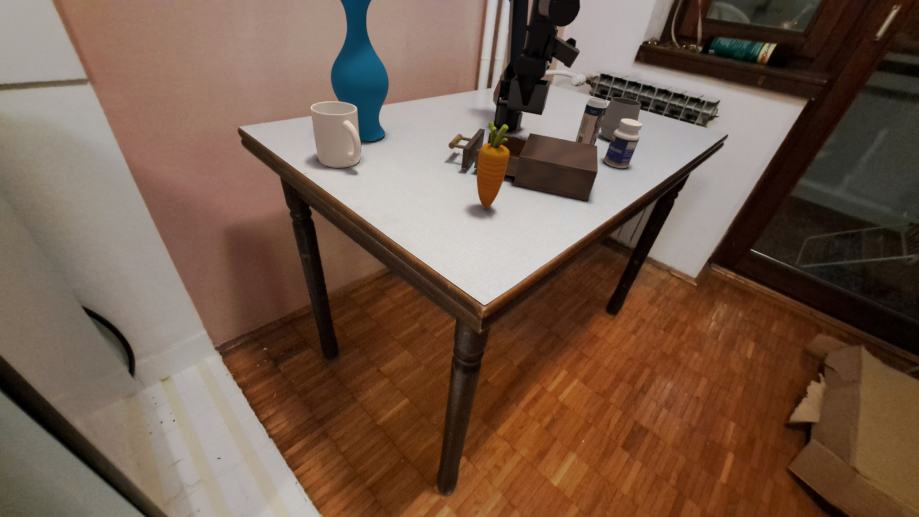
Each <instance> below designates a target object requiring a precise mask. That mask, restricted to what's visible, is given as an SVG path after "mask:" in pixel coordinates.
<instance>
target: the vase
mask: <svg viewBox="0 0 919 517" xmlns="http://www.w3.org/2000/svg"><path fill="white" fill-rule="evenodd" d="M339 1H340V3H341V5H342V7H343V10H344V13H345V20H346V21H345V22H346V32H345V39H344V42H343V44H342V47H341V49H340V51H339V52H338V55H337V56H336V58H335V59H334V61H333V64H332V67H331V71H330V83H331V87H332V91H333V93H334V95H335V97H336V99H337V100H338V102H345V103H349V104H352V105H354V106H356V107H357V114H358V128H359V138H360V142H362V143H363V142H365V143H366V142H375V141H379V140H381V139H382V138H384V137H385V135H386V132H385V129H384V128H383V126H382V125H381V123H380V114H381V110H382V107H383V105H384V103H385V101H386V98H387V96H388V93H389V88H390V80H389V74H388V72H387V69H386V67H385V65H384V63H383V61H382V60H381V58H380V57H379V55H378V54H377V52H376V50H375V48H374V46H373V44H372V42H371V39H370V37H369V33H368V32H369V31H368V27H367V26H368V25H367V20H368V18H367V17H368V16H367V15H368V10H369V6H370V5H371V2H372V0H339Z"/></svg>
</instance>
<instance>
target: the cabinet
mask: <svg viewBox="0 0 919 517" xmlns="http://www.w3.org/2000/svg"><path fill="white" fill-rule="evenodd" d="M526 139H527V141H526V143H525V145H524V147H523V149H522V151H521V154H520V156H519V160H518V165H517V170H516V175H515V177H514V180H513V186H516V187H521V188H526V189H531V190H534V191H540V192H543V193H548V194H554V195H557V196H563V197H567V198H572V199H574V200H576V199H577V200H580V201H585V202H588V201H589V197H590V196H591V192H592V189H593V186H594V183H595V181H596V178H597V175H598V173H599V170H598V169H599V167H598V166H599V165H598V164H599V163H598V145H596V144H595V145H590V144H585V143H579V142H575V141H574V140H569V139H564V138H559V137H553V136H549V135H548V136H547V135H543V134H538V133H533V132H529V134H528V136H527V138H526Z"/></svg>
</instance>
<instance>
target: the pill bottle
mask: <svg viewBox="0 0 919 517" xmlns="http://www.w3.org/2000/svg"><path fill="white" fill-rule="evenodd" d="M642 127H643V123H642V122H641V121H639V120H638V121H636V120H633V119H621V121H620V123H619V128H618V129H616V130H615V131H614V133H613V136H612V139H611V141H610V142H609V144H608V147H607V150H606V153H605V156H604V159H603V161H604V163H605V164H606V165H608V166H610V167H613V168H616V169H625V168H628V167H629V165H630V163H631V161H632V158H633V155H634V153H635V150H636V148H637V146H638V143H639V140H640V138H641V136H640V133H639V132H640V131H641V130H642Z"/></svg>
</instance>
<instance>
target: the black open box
mask: <svg viewBox="0 0 919 517" xmlns="http://www.w3.org/2000/svg"><path fill="white" fill-rule="evenodd" d="M551 83H552V81H551V80H547V79H543V78H541V79H540V80H538V81H537V82H536V85H535V87H534V90H533V93H532V95H531V98H530V100H529V103H528V105H527V106H525V105H523V104H522V99H521V94H520V89H519V84H518V79H517V75H516V76H515V77H514V78H513V79H512V80H511V85H510V91H509V97H508V103H507V109H510V110H515V111H521V112H523V113H527V114H530V115H538V116H543V113H544V111H545V108H546V105H547V99H548V95H549V92H550V87H551Z"/></svg>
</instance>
